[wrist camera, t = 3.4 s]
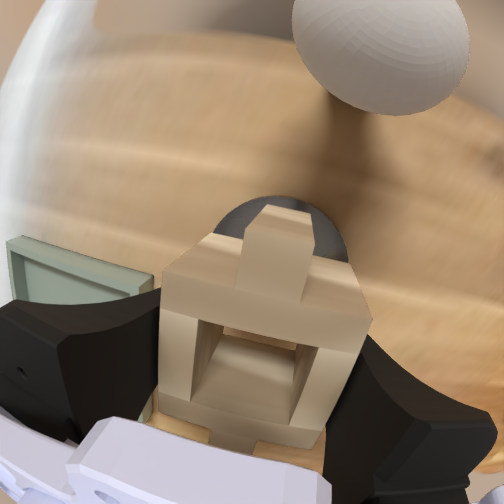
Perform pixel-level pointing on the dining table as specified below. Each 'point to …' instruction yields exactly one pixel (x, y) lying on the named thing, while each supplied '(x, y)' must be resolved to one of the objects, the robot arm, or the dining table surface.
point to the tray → (70, 279)
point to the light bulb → (383, 51)
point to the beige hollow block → (263, 323)
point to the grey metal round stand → (323, 227)
